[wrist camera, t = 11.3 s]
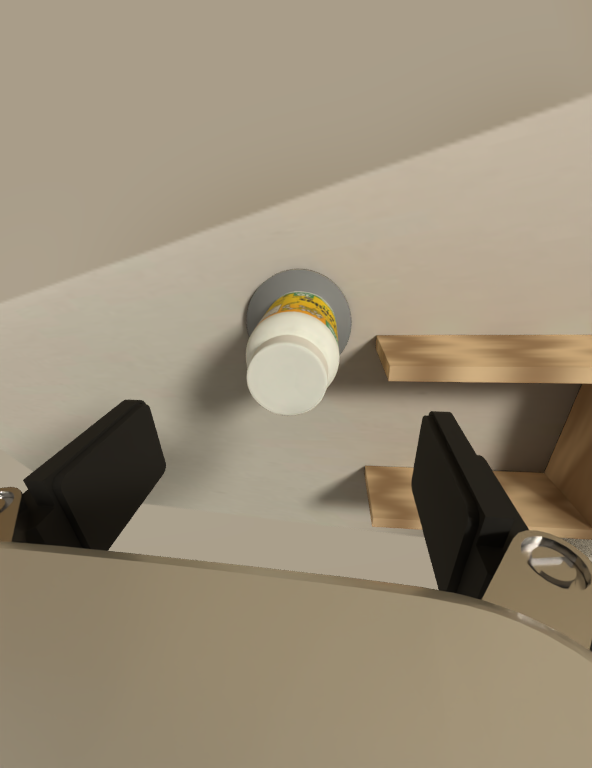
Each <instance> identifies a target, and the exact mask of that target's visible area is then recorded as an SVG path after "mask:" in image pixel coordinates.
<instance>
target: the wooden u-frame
mask: <svg viewBox="0 0 592 768" xmlns="http://www.w3.org/2000/svg"><path fill="white" fill-rule="evenodd" d="M375 348H376V350H377V353H378V356H379V358H380V361H381V363H382V366H383V368H384V371H385V373H386V376H387V379H388V381H420V382H503V383H582V385H581V388H580V390H579V393H578V395H577V397H576V400H575V402H574V404H573V407H572V409H571V411H570V414H569V416H568V418H567V421H566V423H565V425H564V428H563V430H562V432H561V435H560V437H559V439H558V442H557V444H556V446H555V449H554V451H553V453H552V456H551V458H550V461H549V463H548V465H547V468H546V470H545V472H544V473H534V472H508V471H493V473H494V474H495V476H496V477H497V479H498V481H499V482H500V484H501V485H502V487H503V489H504V490H505V492H506V493H507V495H508V497H509V498H510V500H511V501H512V503H513V505H514V506H515V508H516V509H517V511H518V513H519V514H520V516H521V517H522V519H523V521H524V522H525V524H526V525H527V527H528V529H529V530H537V531H541V532H545V533H550V534H552V535H554V536H557V537H559V538H575V539H592V335H377V336H376V347H375ZM413 469H414V468H407V467H382V466H365V480H366V487H367V494H368V501H369V508H370V515H371V522H372V527H388V528H405V529H422V526H421V522H420V518H419V515H418V511H417V507H416V504H415V500H414V496H413V493H412V487H411V481H412V474H413Z"/></svg>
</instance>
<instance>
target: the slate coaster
mask: <svg viewBox="0 0 592 768" xmlns="http://www.w3.org/2000/svg"><path fill="white" fill-rule="evenodd" d="M294 291H302V292H309V293H313V294H315V295H318V296H320V297H321V298H322V299H324V300H325V301H326V302H327V303H328V305H329V306H330V307H331V309H332V310H333V312H334V315H335V319H336V324H337V334H338V345H339V355H340V354H341V353H342V351H343V350H344V348H345V346H346V345H347V342H348V340H349V336H350V332H351V313H350V309H349V305H348V302H347V300H346V298H345V296H344V294H343V293H342V291H341V290H340V289H339V287H338V286H337V285H336V284H335V283H334V282H333V281H332V280H330V279H329V278H327V277H326V276H324V275H322V274H320V273H318V272H315V271H312V270H307V269H290V270H286V271H282V272H280V273H277V274H275V275H273V276H272V277H270V278H269V279H267V280H266V281H265V282H264V283H263V284H262V285H261V286H260V287H259V288H258V289H257V290H256V292H255V293H254V295H253V297H252V299H251V301H250V304H249V306H248V311H247V330H248V334H249V337H250V336H251V334H252V332H253V331H254V329H255V328H256V326H257V325H258V323H259V322H260V321H261V319H262V318H263V316H264V315H265V314H266V312H267V311H268V309H269V308H270V307H271V305H272V304H273V303H274V302H275V301H276V300H277V299H278V298H279V297H281V296H282V295H284V294H287V293H289V292H294Z"/></svg>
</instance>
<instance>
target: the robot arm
mask: <svg viewBox="0 0 592 768" xmlns="http://www.w3.org/2000/svg"><path fill="white" fill-rule="evenodd" d="M165 468H166V463H165V459H164V456H163V452H162V449H161V445H160V442H159V438H158V435H157V431H156V428H155V424H154V421H153V417H152V414H151V410H150V407H149V406H148V405H146V404H145V402H144V401H142V400H124V401H122V402H121V403H120V404H119V405H117V406H116V407H115V408H113V409H112V410H111V411H110V412H108V413H107V414H106V415H105V416H103V417H102V418H101V419H100V420H98V421H97V422H96V423H95V424H93V425H92V426H91V427H89V428H88V429H87V430H86V431H84V432H83V433H82V434H81V435H79V436H78V437H77V438H76V439H74V440H73V441H72V442H70V443H69V444H68V445H67V446H65V447H64V448H63V449H62V450H60V451H59V452H58V453H57V454H55V455H54V456H53V457H52V458H50V459H49V460H48V461H46V462H45V463H44V464H43V465H41V466H40V467H39V468H38V469H36V470H35V471H34V472H33V473H31V474H30V475H29V476H27V477H26V478H25V479H24V480H23V481H24V483H25V484H26V486H27V488H28V490H27V491H26V492H25V493H23V494H22V492H21V491H20V490H19V489H18V488H15V487H4V488H0V768H592V562H591V561H590V560H589V558H588V557H587V556H586V555H584V554H583V553H582V552H581V551H580V550H578V549H577V548H576V547H575V546H573V545H571V544H570V543H568V542H567V541H565V540H563V539H561V538H559V537H557V536H554V535H552V534H550V533H545V532H541V531H537V530H529V529H528V527H527V525H526V524H525V522H524V521H523V519H522V517H521V516H520V514H519V513H518V511H517V509H516V508H515V506H514V505H513V503H512V501H511V500H510V498H509V497H508V495H507V493H506V492H505V490H504V489H503V487H502V485H501V484H500V482H499V481H498V479H497V477H496V476H495V474H494V473H493V471H492V469H491V468H490V466H489V465H488V463H487V461H486V460H485V459H484V458H483V457H482V456H480V455H476V453H475V451H474V450H473V448H472V446H471V445H470V443H469V441H468V440H467V438H466V436H465V435H464V433H463V431H462V430H461V428H460V426H459V425H458V423H457V421H456V420H455V418H454V416H453V415H452V413H451V412H436V411H431V412H430V413H429V416H423V419H422V424H421V429H420V435H419V441H418V446H417V452H416V458H415V463H414V469H413V474H412V481H411V487H412V493H413V496H414V500H415V504H416V507H417V511H418V515H419V518H420V522H421V526H422V530H423V533H424V537H425V540H426V544H427V548H428V552H429V555H430V559H431V563H432V566H433V570H434V574H435V578H436V581H437V585H438V589H439V590H435V589H429V588H423V587H417V586H410V585H402V584H394V583H387V582H379V581H372V580H364V579H356V578H349V577H340V576H331V575H323V574H314V573H305V572H295V571H287V570H279V569H270V568H262V567H253V566H243V565H234V564H226V563H216V562H207V561H198V560H189V559H180V558H171V557H161V556H152V555H142V554H133V553H123V552H113V551H108V550H109V548H110V547H111V545H112V544H113V543H114V541H115V540H116V539H117V537H118V536H119V534H120V533H121V532H122V530H123V529H124V528H125V526H126V525H127V523H128V522H129V521H130V519H131V518H132V517H133V515H134V514H135V512H136V511H137V509H138V508H139V507H140V505H141V504H142V503H143V501H144V500H145V499H146V497H147V496H148V494H149V493H150V492H151V490H152V489H153V488H154V486H155V485H156V483H157V482H158V481H159V479H160V478H161V476H162V475H163V474H164V472H165Z"/></svg>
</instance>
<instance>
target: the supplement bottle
mask: <svg viewBox="0 0 592 768" xmlns="http://www.w3.org/2000/svg"><path fill="white" fill-rule="evenodd" d="M339 360H340V355H339V345H338V334H337V324H336V319H335V315H334V312H333V310H332V309H331V307H330V306H329V305H328V303H327V302H326V301H325V300H324V299H322V298H321V297H320V296H318V295H315V294H313V293H309V292H302V291H294V292H289V293H287V294H284V295H282V296H281V297H279V298H278V299H277V300H276V301H275V302H274V303H273V304H272V305H271V307H270V308H269V309H268V311H267V312H266V314H265V315H264V316H263V318H262V319H261V321H260V322H259V323H258V325H257V326H256V328H255V329H254V331H253V332H252V334H251V336H250V338H249V340H248V343H247V347H246V364H247V368H248V369H247V385H248V388H249V391H250V393H251V395H252V396H253V398H254V399H255V400H256V401H257V403H259V404H260V405H261V406H262V407H263V408H265V409H266V410H268V411H270V412H273V413H276V414H279V415H287V416H292V415H299V414H302V413H305V412H308V411H310V410H311V409H313V408H314V407H315V406H316V405H317V404H318V403H319V402H320V401H321V400H322V398H323V396H324V394H325V392H326V389H327V387H328V386H329V385H330V384H331V382H332V381H333V379H334V378H335V376H336V373H337V370H338V366H339Z"/></svg>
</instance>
